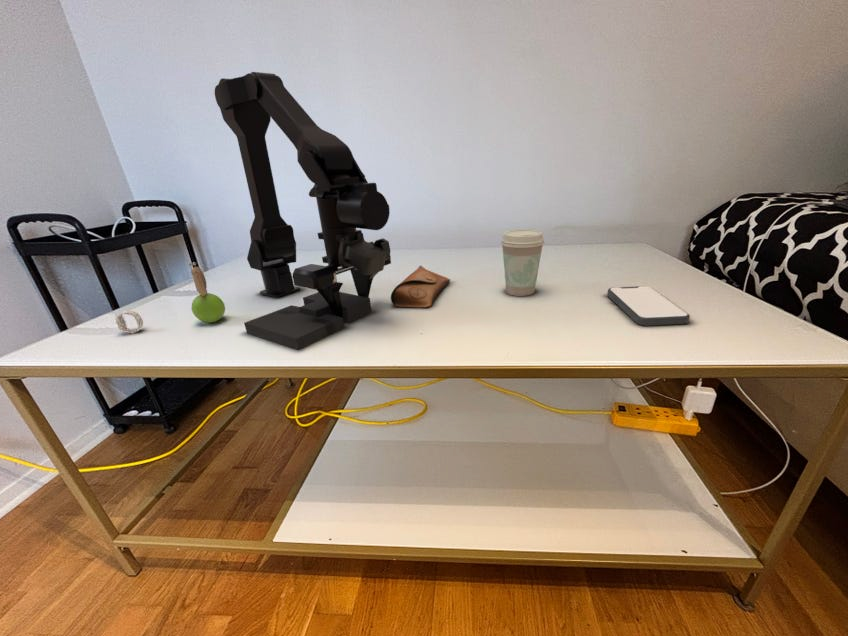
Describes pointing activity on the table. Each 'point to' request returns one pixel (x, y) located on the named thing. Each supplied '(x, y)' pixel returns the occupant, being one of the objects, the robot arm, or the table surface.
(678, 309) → the phone case
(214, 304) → the green ball with stick
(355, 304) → the pad
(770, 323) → the table surface
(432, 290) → the sunglasses case
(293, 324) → the notched pad
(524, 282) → the coffee cup
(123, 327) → the beige textured ring
